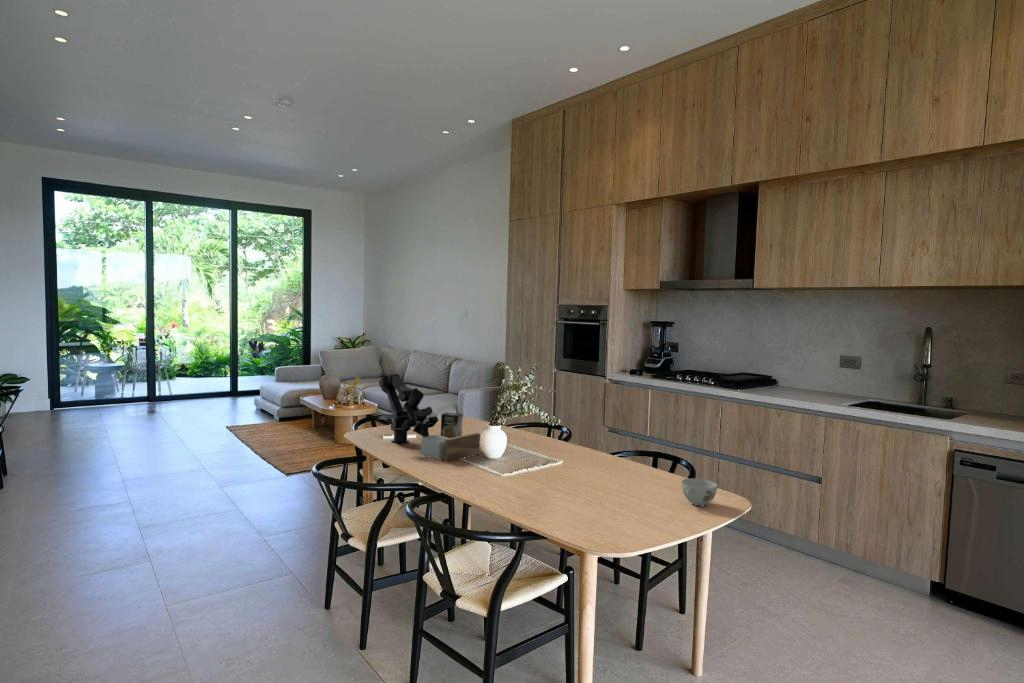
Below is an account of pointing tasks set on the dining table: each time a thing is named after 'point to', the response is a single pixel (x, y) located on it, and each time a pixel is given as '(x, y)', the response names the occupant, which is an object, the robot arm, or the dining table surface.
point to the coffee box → (451, 425)
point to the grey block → (433, 446)
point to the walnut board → (461, 447)
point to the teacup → (699, 490)
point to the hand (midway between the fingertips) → (428, 438)
